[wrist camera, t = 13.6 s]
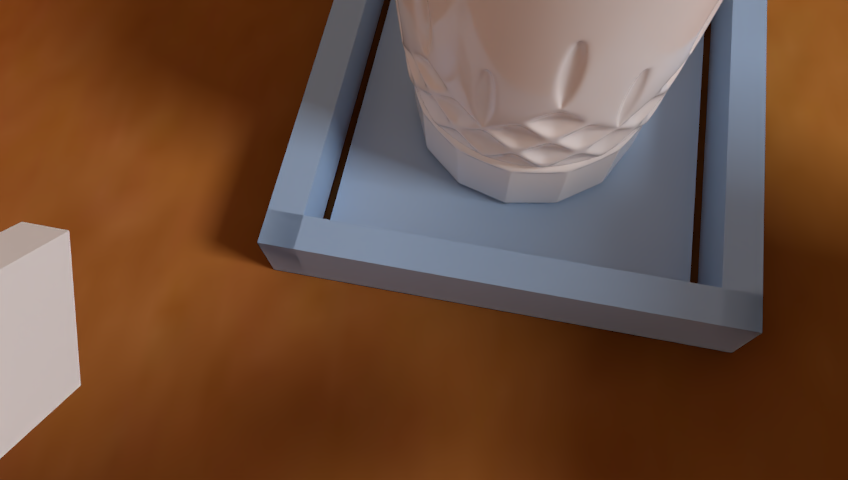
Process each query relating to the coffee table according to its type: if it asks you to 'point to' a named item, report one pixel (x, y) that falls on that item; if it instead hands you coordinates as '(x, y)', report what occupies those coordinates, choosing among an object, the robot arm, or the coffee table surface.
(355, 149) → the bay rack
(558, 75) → the white cup
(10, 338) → the robot arm
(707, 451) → the coffee table surface
